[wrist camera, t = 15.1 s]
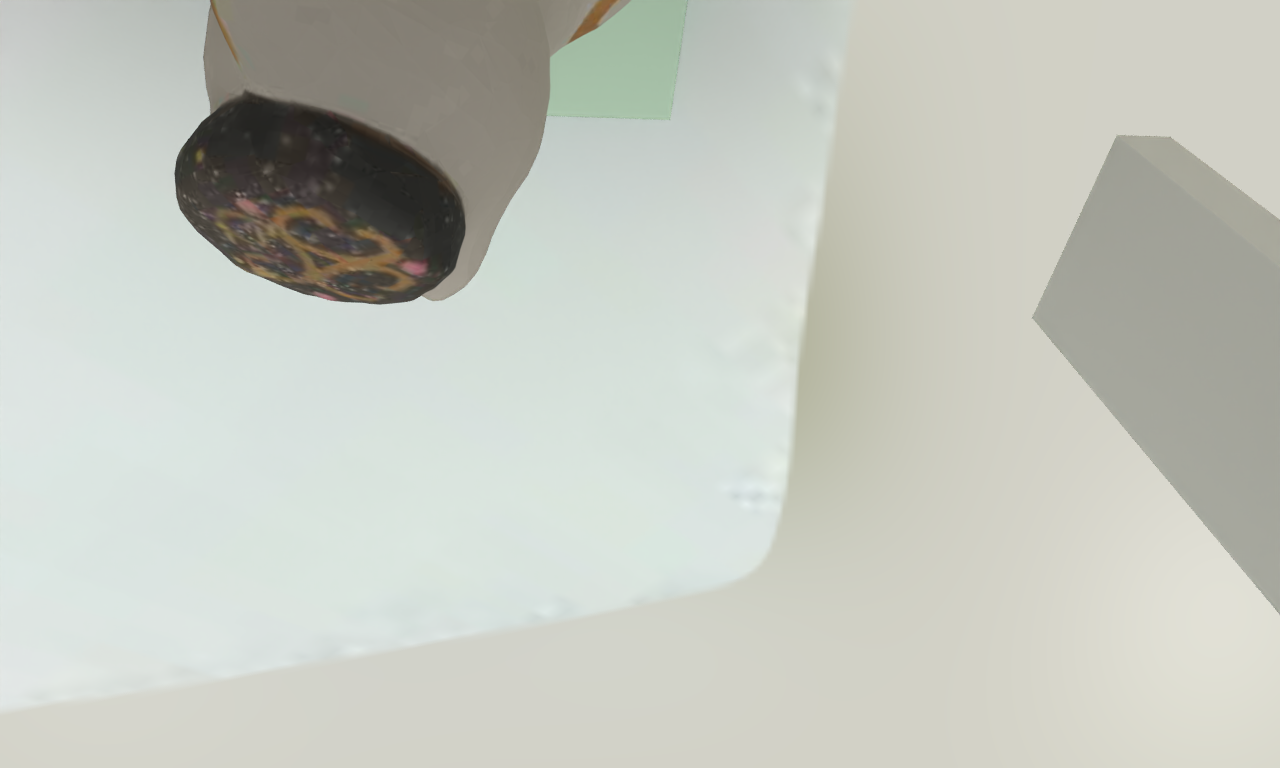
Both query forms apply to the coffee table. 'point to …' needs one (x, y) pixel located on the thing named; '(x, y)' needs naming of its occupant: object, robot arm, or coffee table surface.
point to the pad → (621, 65)
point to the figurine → (370, 136)
